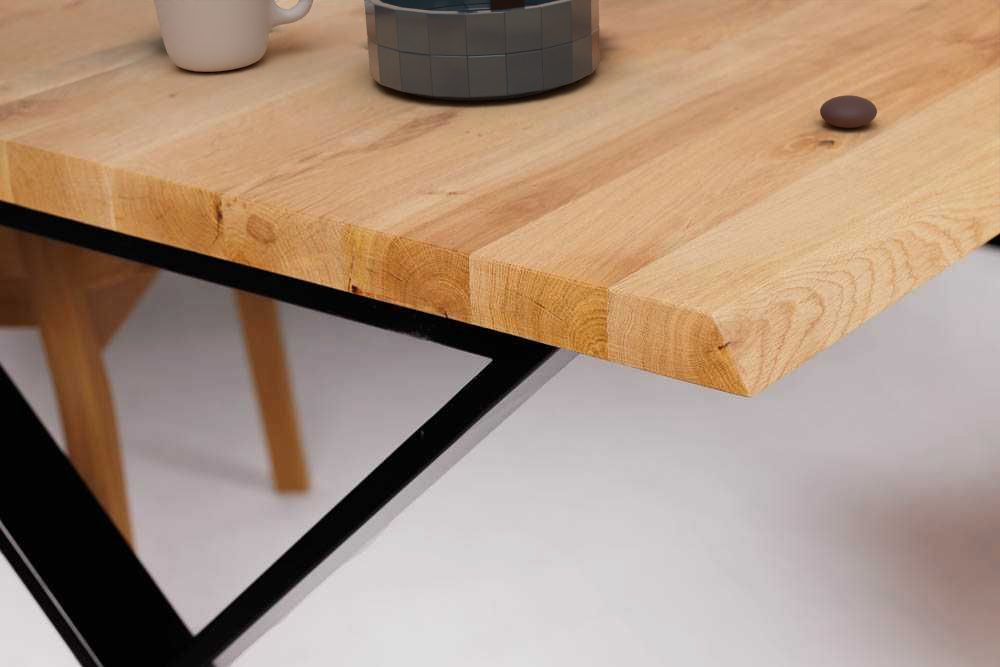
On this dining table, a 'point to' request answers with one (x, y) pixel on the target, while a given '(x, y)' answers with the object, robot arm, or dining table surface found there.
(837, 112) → the chocolate truffle
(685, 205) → the dining table surface
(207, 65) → the cup
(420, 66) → the bowl
